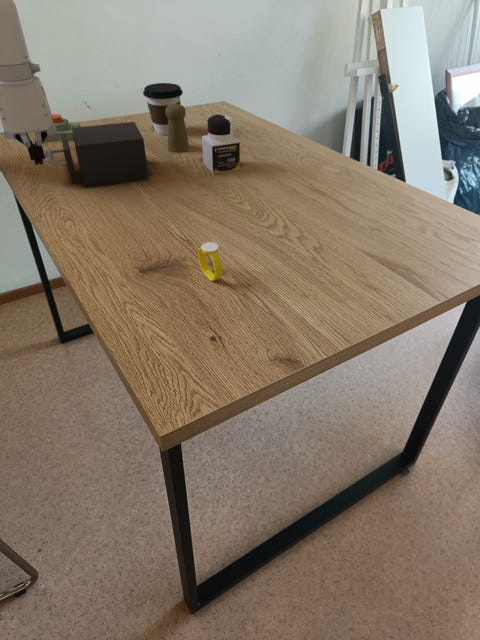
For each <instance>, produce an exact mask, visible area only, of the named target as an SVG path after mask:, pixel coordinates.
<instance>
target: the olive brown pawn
mask: <svg viewBox="0 0 480 640" xmlns="http://www.w3.org/2000/svg"><path fill="white" fill-rule="evenodd" d="M186 112H187V111H186V108H185V106H184V105H182V104H181V103H180V104H171V105H168V106H167V107H166V111H165V113H166V117H167V118H168V135H167V148H166V149H167V151H169V152H171V153H185V152H187V151H189V150H190V143H189V142H190V141H189V138H188V137H189V136H188V132H187V127H186V122H185V118H186V114H187V113H186Z"/></svg>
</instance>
